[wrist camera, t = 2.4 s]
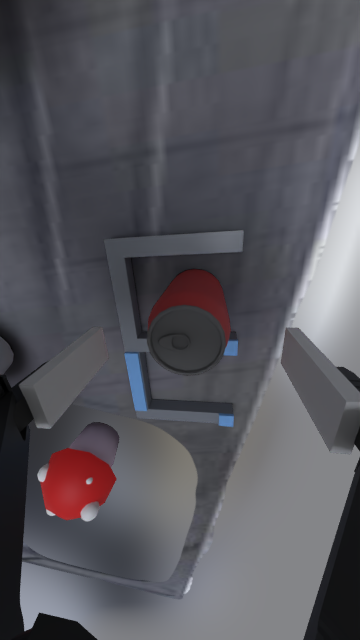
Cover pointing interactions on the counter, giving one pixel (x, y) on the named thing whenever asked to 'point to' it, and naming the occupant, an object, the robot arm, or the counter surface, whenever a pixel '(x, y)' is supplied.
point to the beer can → (189, 324)
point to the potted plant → (5, 356)
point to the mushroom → (80, 474)
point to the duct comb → (136, 340)
